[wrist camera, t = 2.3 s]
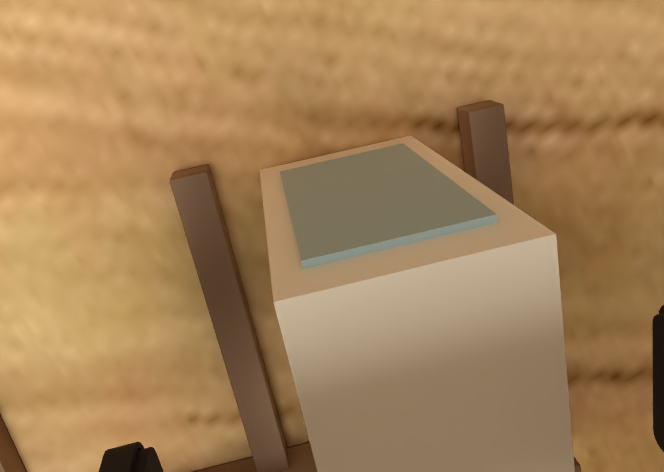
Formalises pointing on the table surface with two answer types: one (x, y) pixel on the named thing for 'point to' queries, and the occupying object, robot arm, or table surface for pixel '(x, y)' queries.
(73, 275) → the table surface
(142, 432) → the table surface
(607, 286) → the table surface
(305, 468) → the pegged rail
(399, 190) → the cream block blue label
